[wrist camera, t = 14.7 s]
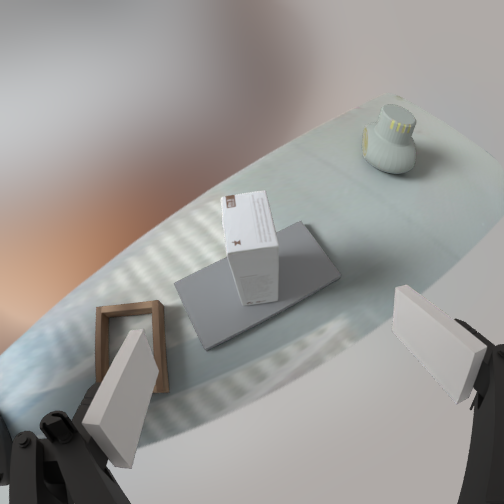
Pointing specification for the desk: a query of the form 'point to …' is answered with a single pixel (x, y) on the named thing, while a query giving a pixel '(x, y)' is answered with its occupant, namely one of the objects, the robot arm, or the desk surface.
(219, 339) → the slate board
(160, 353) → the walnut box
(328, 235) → the desk surface
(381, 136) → the air freshener
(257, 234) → the skincare box
